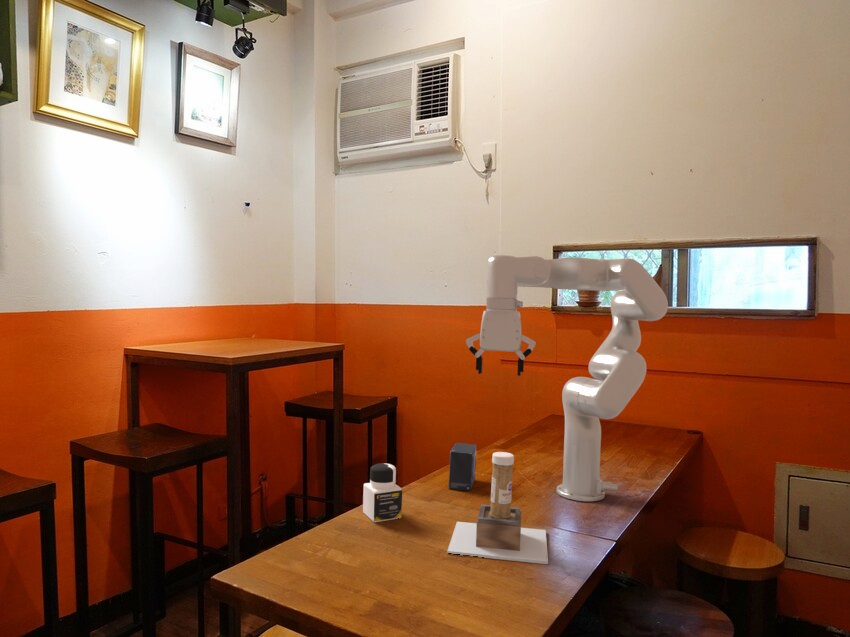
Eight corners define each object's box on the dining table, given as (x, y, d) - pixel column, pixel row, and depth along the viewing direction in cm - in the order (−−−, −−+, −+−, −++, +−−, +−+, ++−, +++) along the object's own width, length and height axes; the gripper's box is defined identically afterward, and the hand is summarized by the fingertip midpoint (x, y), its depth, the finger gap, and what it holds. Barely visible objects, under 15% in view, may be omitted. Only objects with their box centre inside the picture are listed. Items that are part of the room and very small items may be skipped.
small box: (471, 491, 157) (472, 453, 156) (447, 489, 158) (449, 451, 158) (476, 479, 167) (477, 443, 167) (453, 478, 168) (454, 442, 168)
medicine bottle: (373, 523, 133) (375, 471, 133) (362, 512, 139) (363, 463, 139) (402, 518, 136) (403, 467, 136) (389, 508, 143) (390, 459, 142)
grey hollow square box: (520, 533, 128) (521, 507, 128) (519, 551, 119) (520, 523, 119) (479, 529, 129) (480, 503, 129) (475, 546, 120) (476, 518, 120)
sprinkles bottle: (507, 521, 121) (511, 457, 121) (486, 517, 123) (490, 454, 122) (513, 514, 125) (516, 453, 125) (492, 511, 127) (495, 450, 127)
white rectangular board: (545, 532, 130) (545, 529, 130) (547, 564, 115) (547, 561, 115) (456, 524, 134) (456, 521, 134) (447, 553, 118) (447, 550, 118)
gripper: (536, 306, 147) (534, 374, 147) (468, 304, 150) (466, 370, 150) (537, 306, 139) (534, 378, 140) (465, 304, 142) (463, 374, 143)
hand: (499, 374), depth 145 cm, fingers open, 9 cm apart
